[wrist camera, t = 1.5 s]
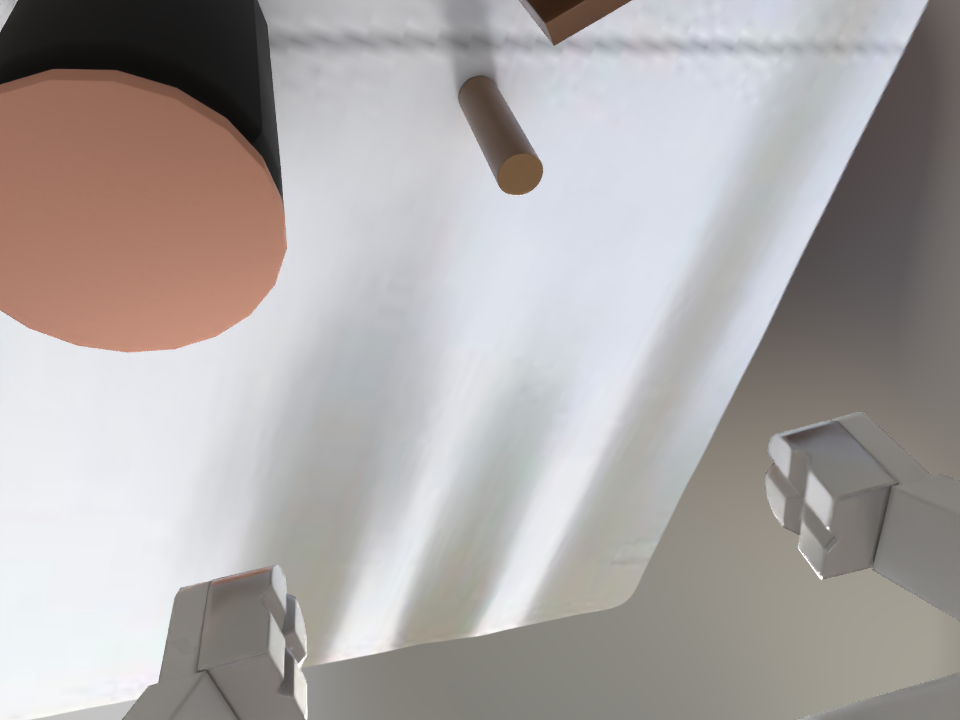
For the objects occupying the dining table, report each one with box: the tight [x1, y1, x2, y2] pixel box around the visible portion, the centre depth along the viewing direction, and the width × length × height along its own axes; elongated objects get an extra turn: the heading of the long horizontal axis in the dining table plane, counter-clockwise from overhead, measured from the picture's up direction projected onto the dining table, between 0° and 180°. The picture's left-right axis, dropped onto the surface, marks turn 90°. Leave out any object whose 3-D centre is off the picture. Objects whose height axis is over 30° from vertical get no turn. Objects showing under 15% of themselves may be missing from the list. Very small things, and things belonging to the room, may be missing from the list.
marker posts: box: [459, 76, 543, 195], centre depth 38 cm, size 2×27×9 cm, turn 115°
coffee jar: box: [0, 0, 287, 352], centre depth 30 cm, size 11×11×18 cm
